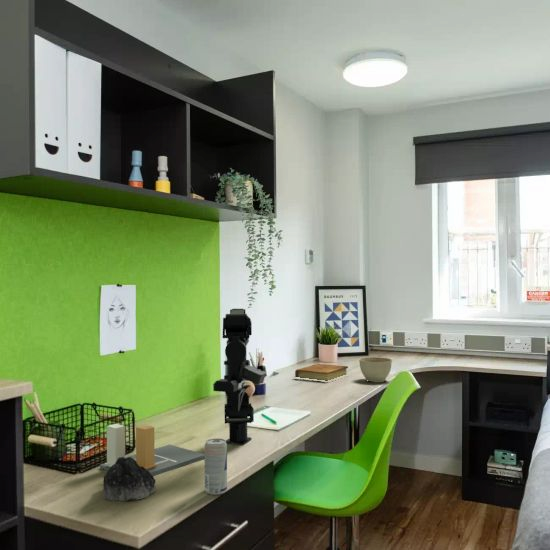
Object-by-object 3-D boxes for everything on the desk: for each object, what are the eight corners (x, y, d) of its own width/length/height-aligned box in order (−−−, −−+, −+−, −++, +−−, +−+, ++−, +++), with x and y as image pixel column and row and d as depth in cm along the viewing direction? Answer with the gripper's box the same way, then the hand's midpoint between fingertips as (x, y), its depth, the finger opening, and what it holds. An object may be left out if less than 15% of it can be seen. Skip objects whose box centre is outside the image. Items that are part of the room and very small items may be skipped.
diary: (316, 374, 306) (316, 363, 306) (348, 377, 296) (347, 366, 296) (295, 380, 286) (295, 369, 286) (327, 383, 276) (327, 372, 276)
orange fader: (145, 462, 153) (145, 424, 153) (156, 466, 150) (156, 426, 150) (133, 466, 150) (133, 427, 150) (144, 470, 147) (144, 430, 147)
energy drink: (227, 486, 138) (227, 438, 139) (226, 495, 133) (226, 444, 133) (205, 487, 138) (205, 438, 138) (203, 495, 133) (203, 444, 133)
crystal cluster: (141, 481, 145) (136, 443, 145) (168, 491, 135) (163, 450, 135) (91, 499, 136) (86, 458, 136) (117, 511, 126) (112, 467, 126)
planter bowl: (353, 381, 279) (353, 359, 279) (368, 377, 292) (368, 356, 292) (383, 385, 269) (382, 362, 269) (397, 380, 282) (397, 358, 282)
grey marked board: (169, 447, 171) (169, 444, 171) (205, 458, 161) (205, 454, 161) (100, 468, 153) (100, 464, 153) (135, 481, 142) (135, 477, 142)
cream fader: (117, 461, 155) (117, 423, 155) (127, 465, 151) (127, 425, 152) (104, 465, 151) (104, 426, 152) (114, 468, 148) (114, 429, 148)
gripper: (249, 362, 151) (249, 421, 151) (274, 354, 168) (274, 406, 168) (212, 360, 155) (212, 417, 155) (240, 352, 172) (240, 403, 172)
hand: (236, 411), depth 162 cm, fingers closed
